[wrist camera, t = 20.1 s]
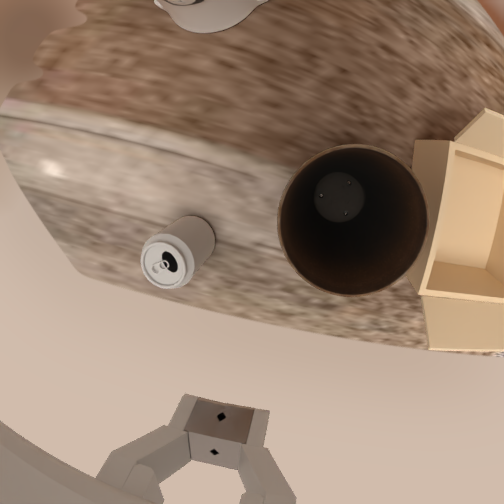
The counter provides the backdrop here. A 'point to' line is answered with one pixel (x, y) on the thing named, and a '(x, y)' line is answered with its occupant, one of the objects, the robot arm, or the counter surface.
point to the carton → (461, 222)
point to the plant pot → (353, 220)
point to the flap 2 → (463, 324)
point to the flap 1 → (484, 133)
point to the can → (177, 252)
